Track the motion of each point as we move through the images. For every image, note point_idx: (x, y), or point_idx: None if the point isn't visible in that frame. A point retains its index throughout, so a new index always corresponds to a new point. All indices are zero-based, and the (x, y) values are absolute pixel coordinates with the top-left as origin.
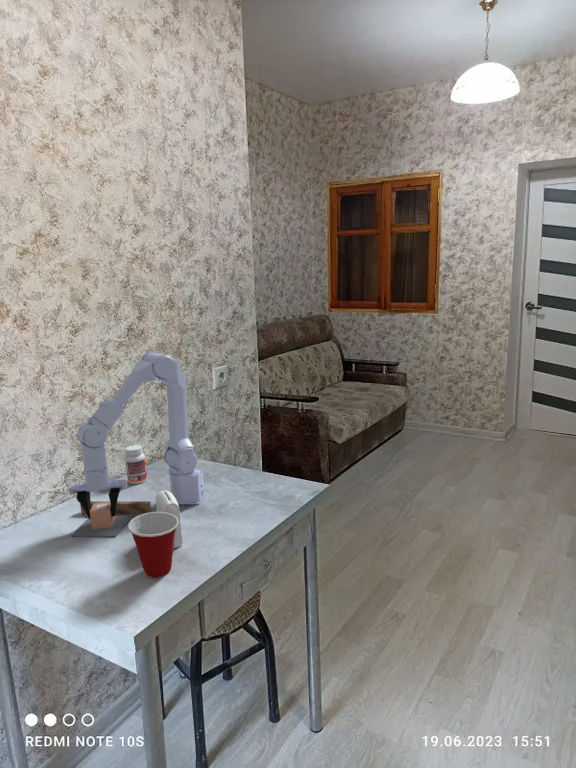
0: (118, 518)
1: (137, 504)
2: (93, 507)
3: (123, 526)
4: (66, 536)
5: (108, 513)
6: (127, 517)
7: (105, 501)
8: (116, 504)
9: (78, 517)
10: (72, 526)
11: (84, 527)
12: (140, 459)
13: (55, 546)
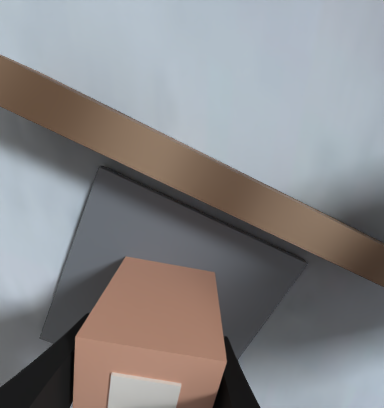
0: (231, 276)
1: (370, 280)
2: (86, 391)
3: (244, 349)
4: (25, 323)
5: None
6: (273, 281)
7: (167, 141)
8: (248, 388)
9: (27, 154)
10: (24, 247)
11: (82, 297)
12: None
13: (7, 374)
